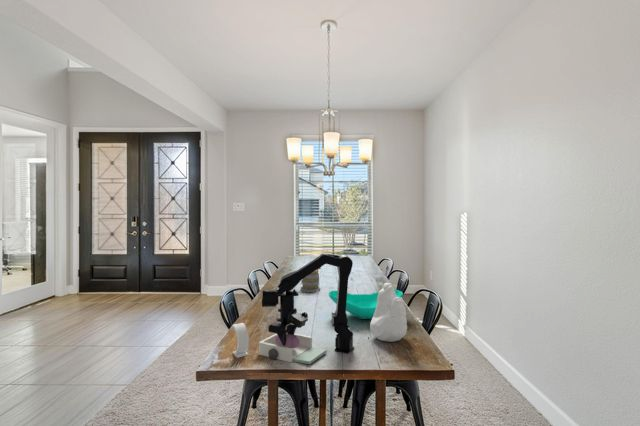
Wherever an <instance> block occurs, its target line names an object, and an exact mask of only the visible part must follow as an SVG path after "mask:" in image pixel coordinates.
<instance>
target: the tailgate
mask: <svg viewBox="0 0 640 426" xmlns="http://www.w3.org/2000/svg"><path fill="white" fill-rule="evenodd" d="M326 353H328V352H327V349H323V348H322V349H321V348H316V347H315V348H314V347H312V348H310V349H308V350H306V351H305V352H303V353H302V354H300V355H299V356H297V357H296V358H294V359H293V361H292V362H295V363H301V364H306V365H307V364H308V365H311V364H312V363H314V362H315V361H316V360H319V358H321V357H322V356H323V355H325V354H326Z"/></svg>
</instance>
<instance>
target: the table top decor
mask: <svg viewBox="0 0 640 426" xmlns="http://www.w3.org/2000/svg"><path fill="white" fill-rule="evenodd" d="M394 291H395V293H396V296H397V297H400V298H402V299H403V295H404V293H403V292H402V291H400V290H398V289H394ZM337 292H338V290H331V291H329V292H328V297H329V298H330V299H331V301H332V302H333V303H334V304H336V305H337ZM378 293H379V291H377V292H373V293H370V294H369V293H367V294H365V293H361V294H360V293H358V294H355V293H354V294H352V293H348V292H347V302H346V312H347V313H349V314H351V315H353V316H354V317H355V318H357V319H360V320H361V319H362V320H372V318H373V316H374V312H375V310H376V306H377V298H378Z"/></svg>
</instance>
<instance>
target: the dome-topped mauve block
mask: <svg viewBox="0 0 640 426" xmlns="http://www.w3.org/2000/svg"><path fill="white" fill-rule="evenodd" d="M275 342H276V344H277V345H278V346H283V347H287V348H291V349H293V348H296V347H298V345H299V339H298V338H297V335H291V334H286V344H285V346H284V345H282V343H281V341H280V339H279V337H278V336H277V337H276V338H275Z"/></svg>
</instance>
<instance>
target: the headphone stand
mask: <svg viewBox="0 0 640 426" xmlns="http://www.w3.org/2000/svg"><path fill="white" fill-rule="evenodd" d="M232 328H233V329H234V332H235V334H236V340H237V344H236V345H237V347H236V350H234V351H232V354H233V355H234V356H235V357H236V358H237V359H238V358H241V357H248V356H249V353H248V350H249V347H250V338H249V332H248V328H247V326H246V324H245V323H243V322H240V323H235V324H232Z"/></svg>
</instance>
